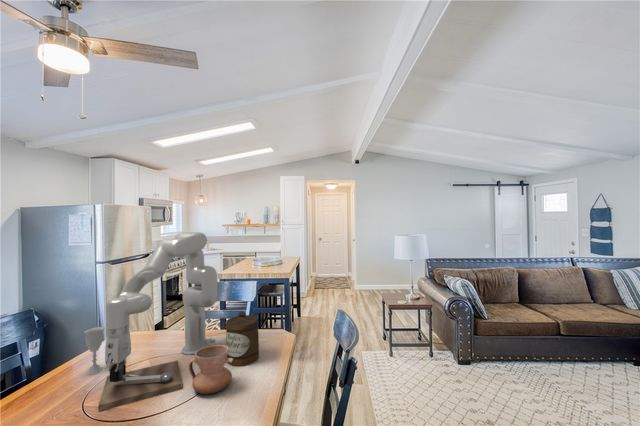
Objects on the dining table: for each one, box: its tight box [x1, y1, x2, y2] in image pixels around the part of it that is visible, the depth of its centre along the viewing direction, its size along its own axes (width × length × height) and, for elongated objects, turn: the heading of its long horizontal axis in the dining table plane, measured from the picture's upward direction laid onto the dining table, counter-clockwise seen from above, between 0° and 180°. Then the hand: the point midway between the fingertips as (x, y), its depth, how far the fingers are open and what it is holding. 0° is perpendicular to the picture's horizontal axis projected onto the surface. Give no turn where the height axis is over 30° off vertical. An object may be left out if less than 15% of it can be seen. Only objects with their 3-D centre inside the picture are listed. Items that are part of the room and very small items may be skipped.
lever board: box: [97, 359, 183, 412], centre depth 116 cm, size 26×22×2 cm
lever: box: [112, 361, 173, 386], centre depth 114 cm, size 22×4×8 cm, turn 97°
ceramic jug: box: [188, 344, 233, 395], centre depth 114 cm, size 18×14×14 cm
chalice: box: [83, 326, 105, 376], centre depth 128 cm, size 7×7×18 cm
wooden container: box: [225, 310, 260, 367], centre depth 137 cm, size 15×15×22 cm
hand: (117, 377), depth 113 cm, fingers closed on lever, 3 cm apart
